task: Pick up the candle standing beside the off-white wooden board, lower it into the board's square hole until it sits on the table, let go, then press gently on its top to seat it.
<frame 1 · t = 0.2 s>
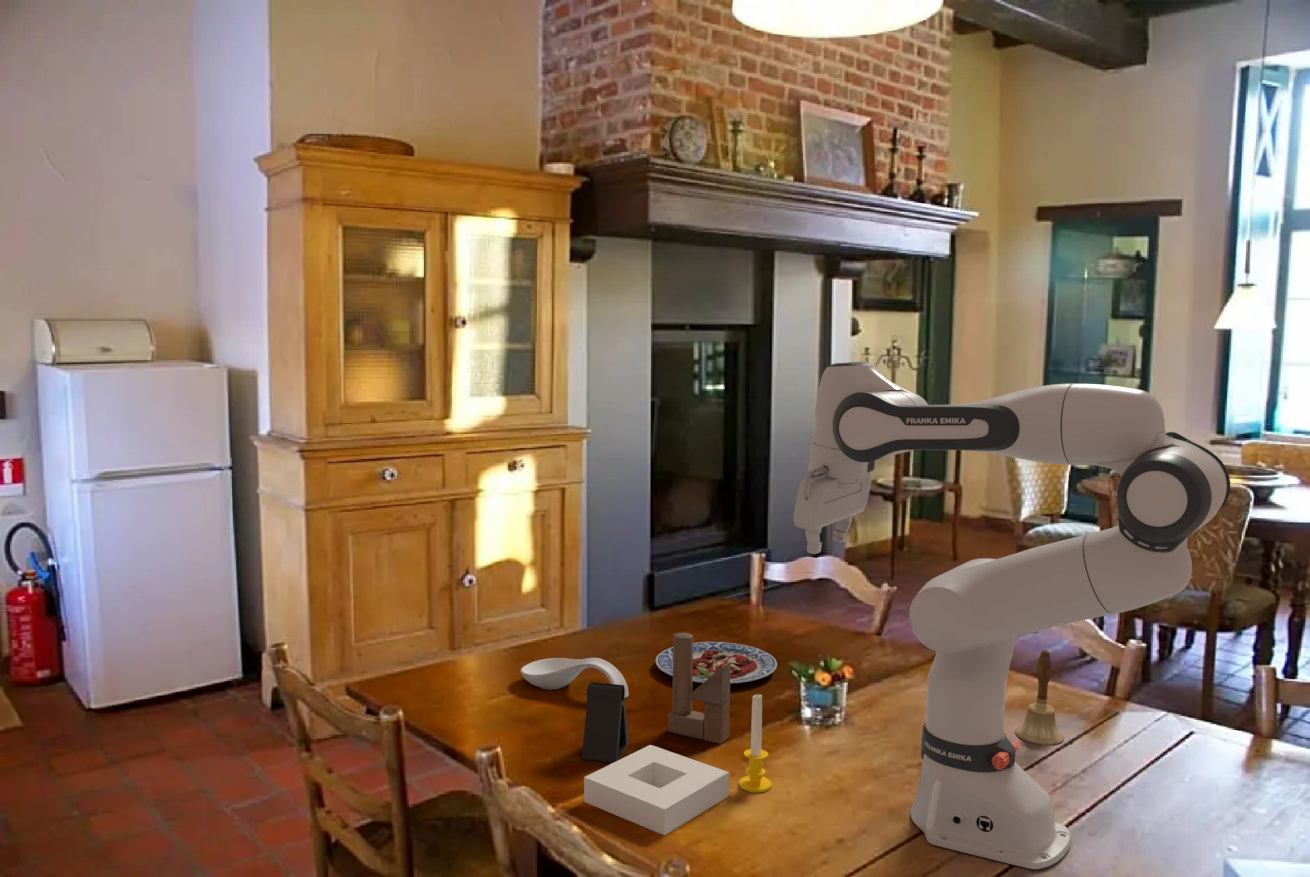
hand: (826, 547, 165), 38 cm above the table, tool pointing down, fingers open, 8 cm apart
hand bell: (1039, 737, 187), on the table
spoon rest: (574, 691, 208), on the table
phone stand: (605, 752, 178), on the table
wooden block: (698, 736, 185), on the table
hole board: (656, 799, 161), on the table
ceramic plate: (715, 671, 220), on the table
candle: (755, 786, 166), on the table
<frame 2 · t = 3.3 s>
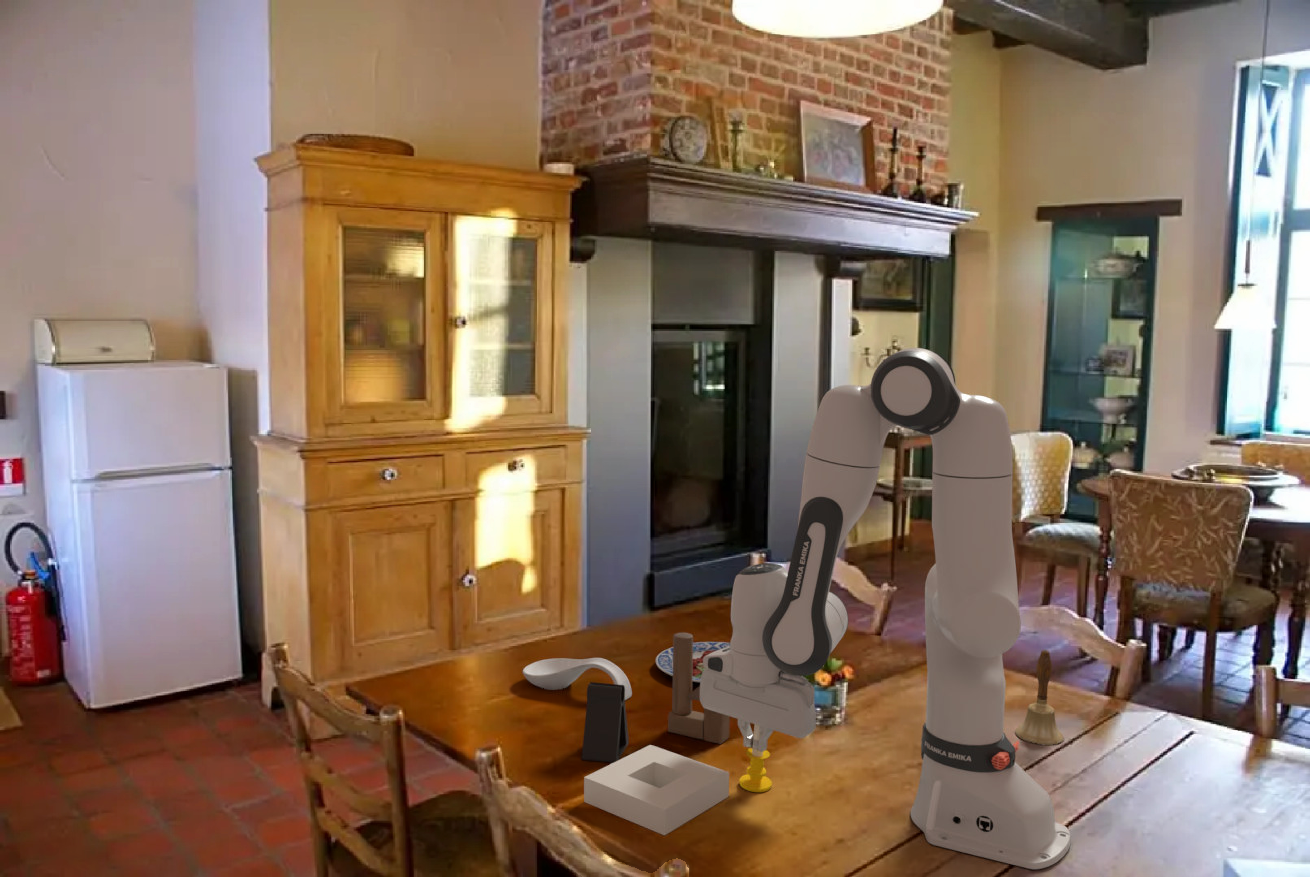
hand: (755, 748, 165), 6 cm above the table, tool pointing down, fingers closed on candle
candle: (755, 785, 166), on the table, touching gripper
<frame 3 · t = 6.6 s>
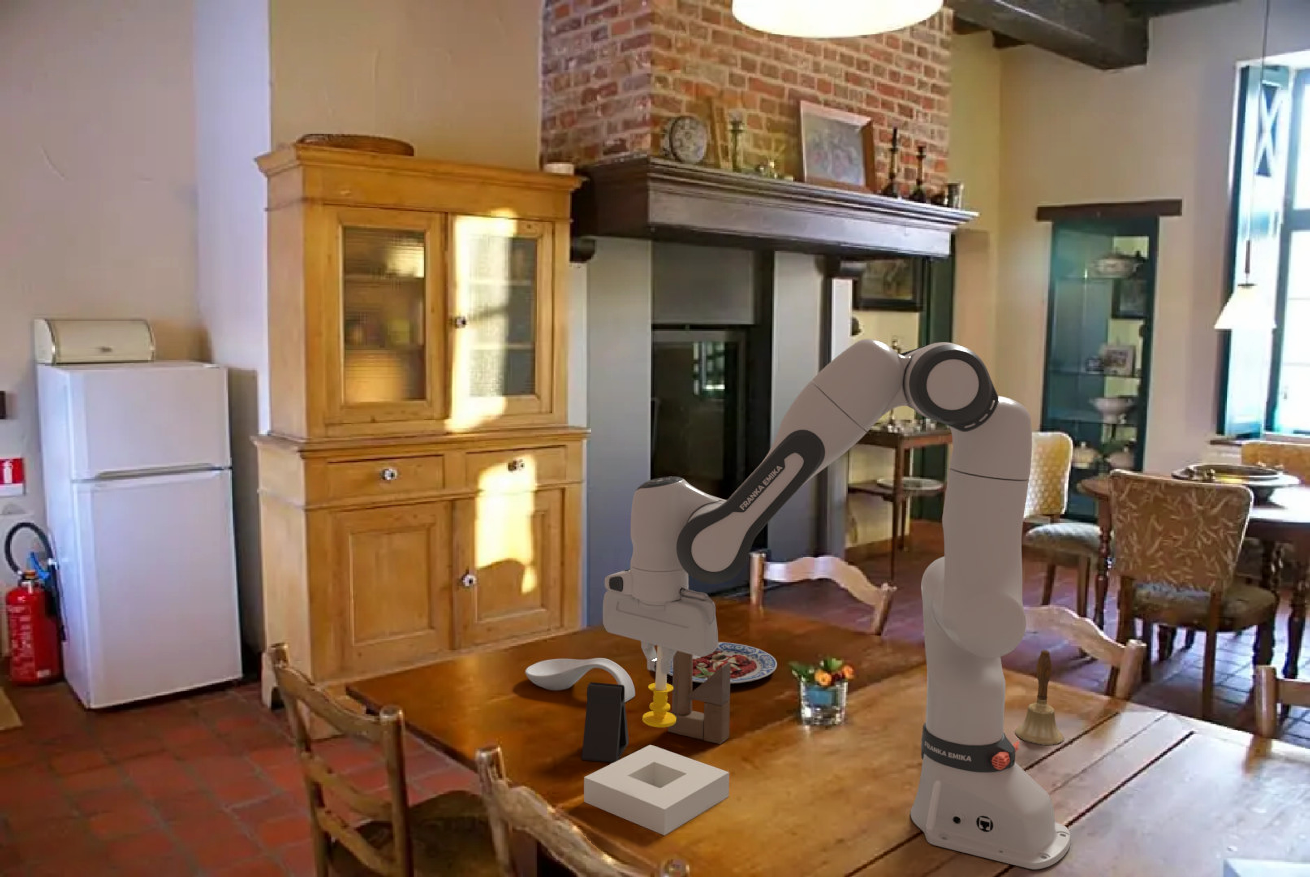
hand: (658, 671, 158), 21 cm above the table, tool pointing down, fingers closed on candle
candle: (659, 721, 159), point 13 cm above the table, touching gripper
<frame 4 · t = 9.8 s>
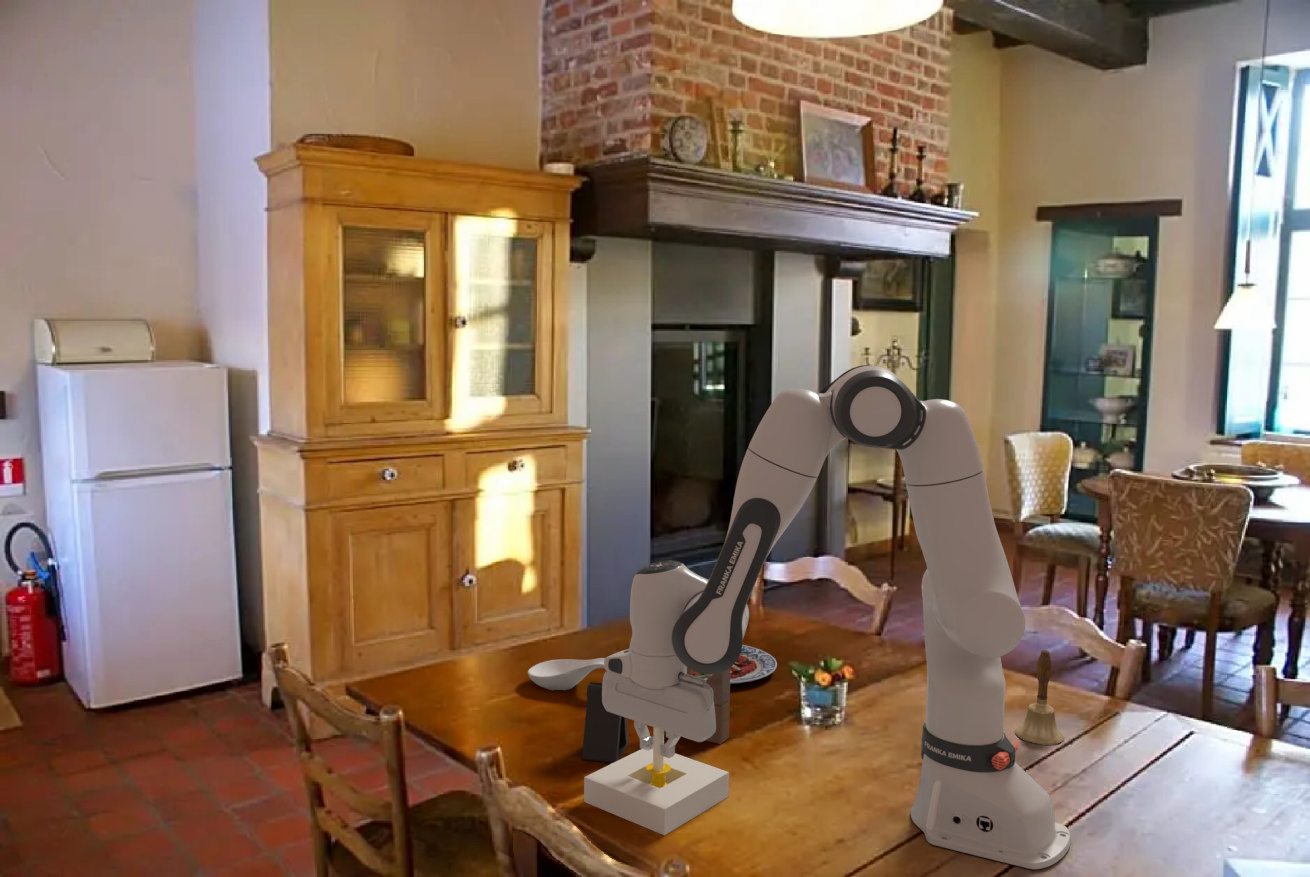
hand: (657, 752, 160), 8 cm above the table, tool pointing down, fingers open, 3 cm apart
candle: (658, 802, 160), resting in hole board
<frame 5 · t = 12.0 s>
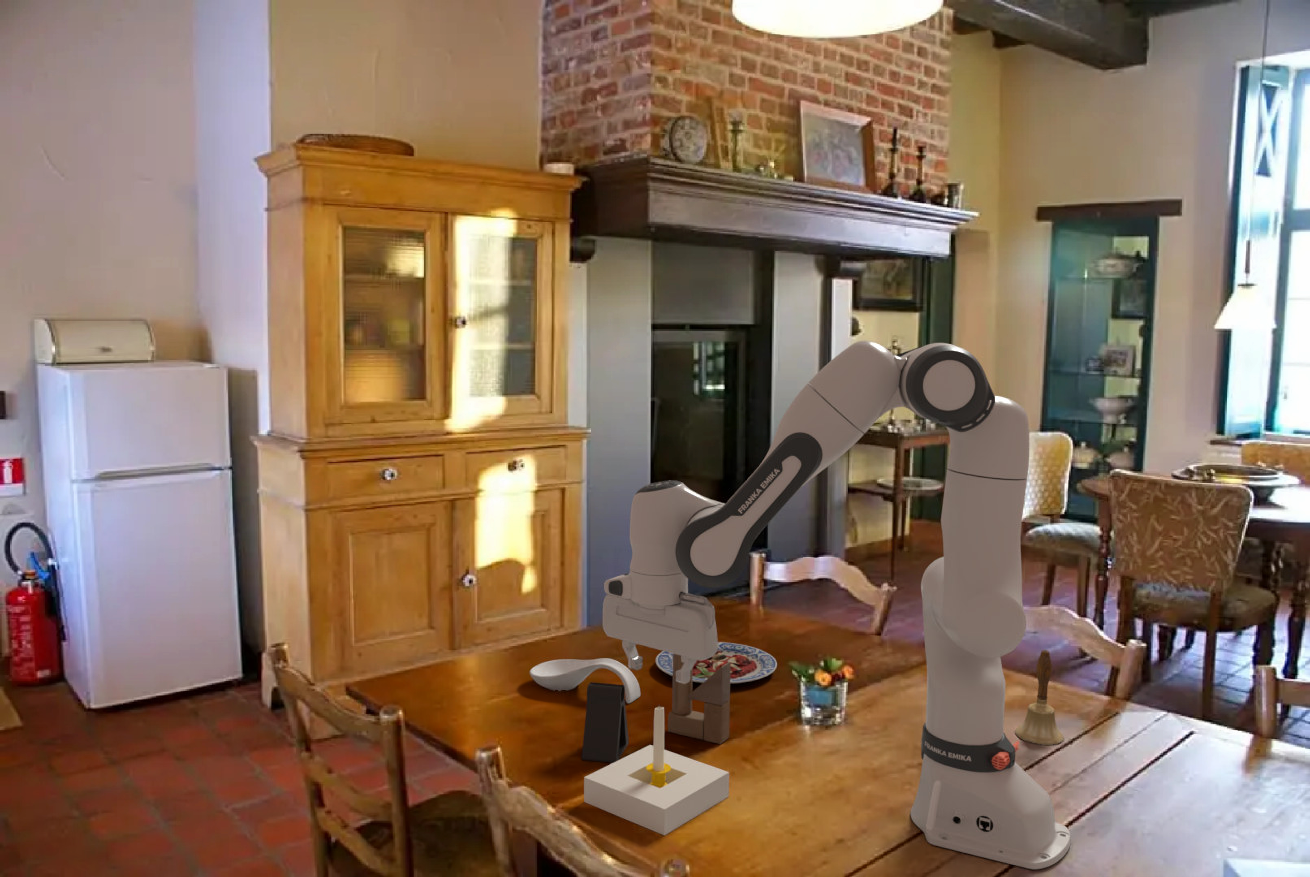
hand: (658, 675, 158), 20 cm above the table, tool pointing down, fingers open, 8 cm apart
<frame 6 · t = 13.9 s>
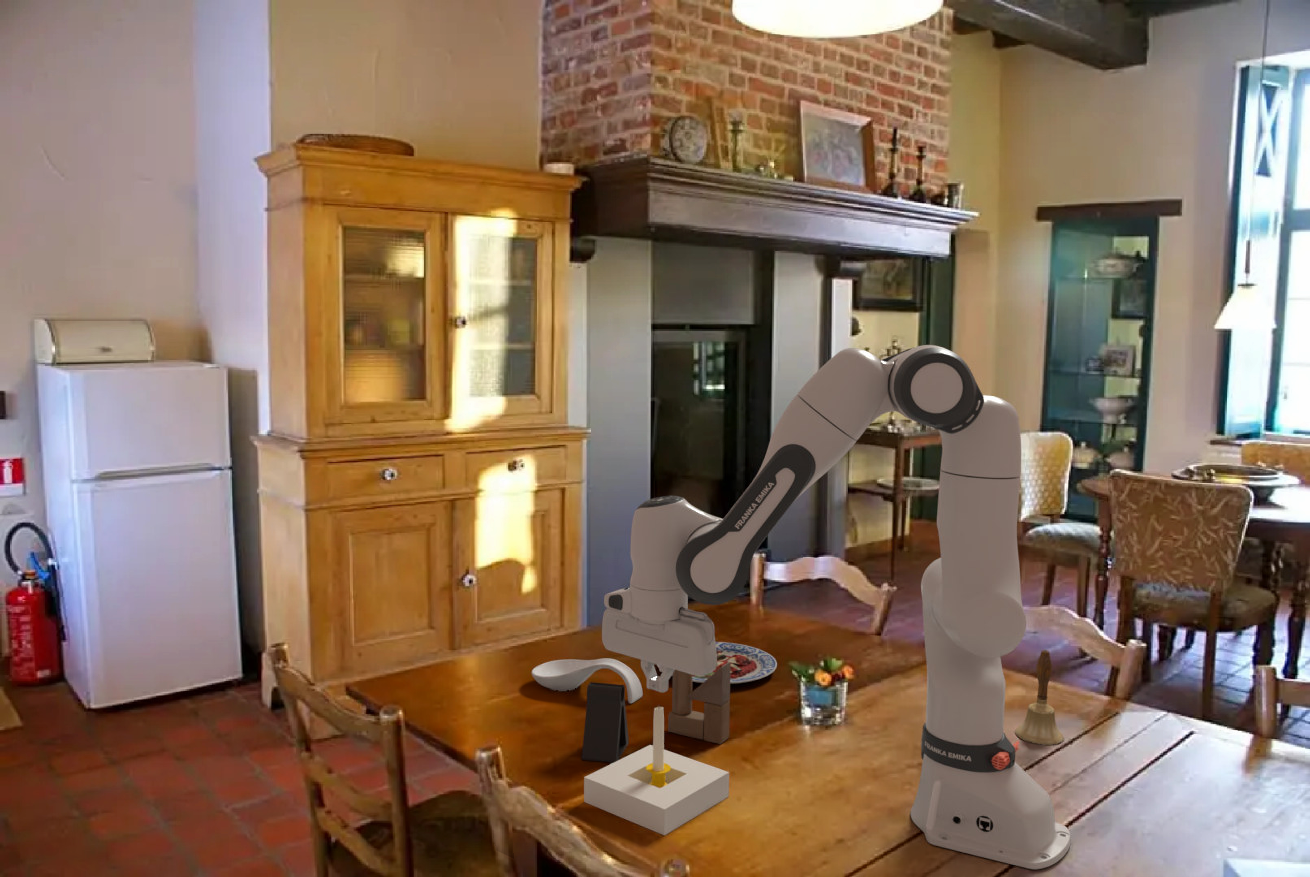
hand: (657, 689, 159), 18 cm above the table, tool pointing down, fingers closed
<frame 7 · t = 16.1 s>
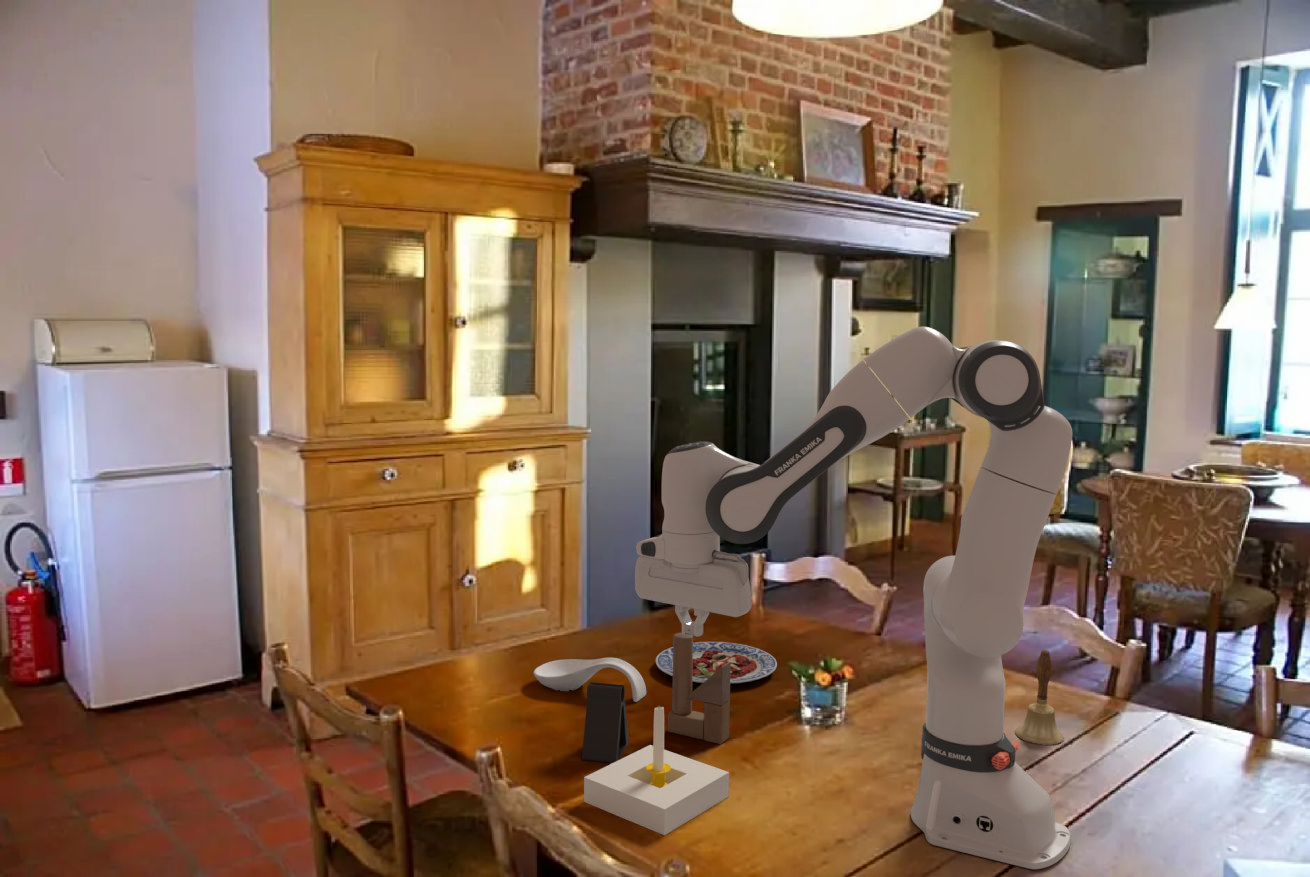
hand: (692, 634, 160), 26 cm above the table, tool pointing down, fingers closed
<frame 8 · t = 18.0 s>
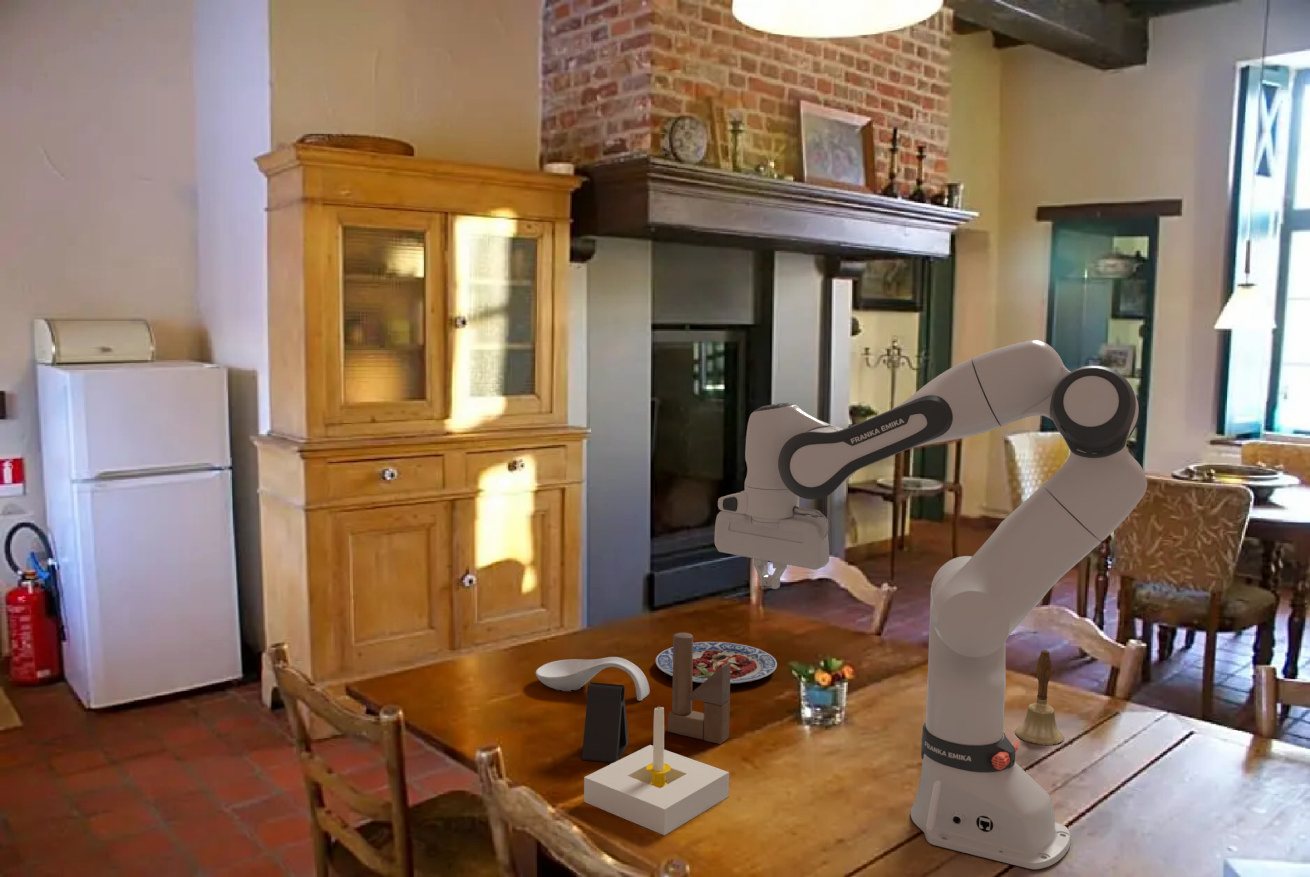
hand: (769, 587, 168), 31 cm above the table, tool pointing down, fingers closed
at the end: candle 0.5 cm from the hole board (horizontally); candle resting in hole board; candle tilted 0° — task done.
